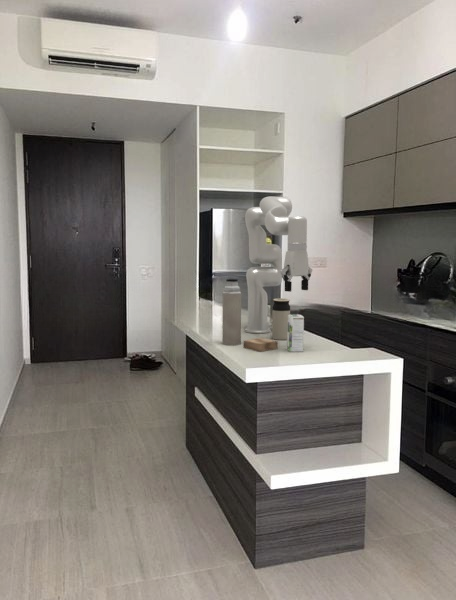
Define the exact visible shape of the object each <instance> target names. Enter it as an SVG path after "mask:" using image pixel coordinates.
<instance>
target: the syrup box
mask: <svg viewBox="0 0 456 600" xmlns="http://www.w3.org/2000/svg"><path fill="white" fill-rule="evenodd" d="M304 319H305V317H304V316H303V315H302V314H293V313H292V314H291V313H290V315H288V330H287V340H286V349H287V351H288V352H289V353H291V352H292V353H295V352H298V353H299V352H303V351H304V331H305V330H304V329H305V320H304Z"/></svg>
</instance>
